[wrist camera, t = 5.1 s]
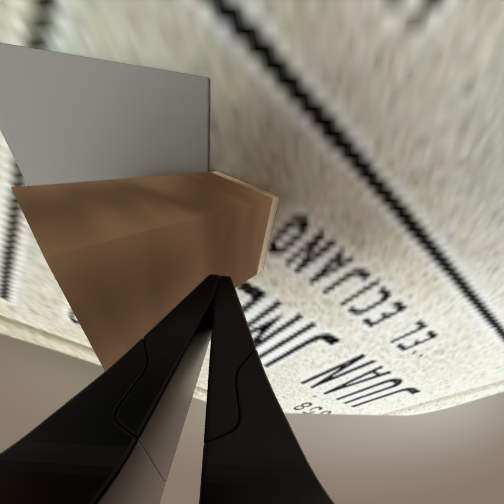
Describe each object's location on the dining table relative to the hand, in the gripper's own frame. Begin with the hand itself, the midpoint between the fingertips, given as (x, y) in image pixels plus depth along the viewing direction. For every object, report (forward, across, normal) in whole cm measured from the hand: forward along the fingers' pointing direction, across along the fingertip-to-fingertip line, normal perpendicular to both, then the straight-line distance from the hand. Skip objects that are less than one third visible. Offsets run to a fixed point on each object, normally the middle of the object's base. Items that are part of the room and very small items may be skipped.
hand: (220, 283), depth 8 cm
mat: (+8, +8, 0) cm, 11 cm away
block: (+6, 0, 0) cm, 6 cm away
